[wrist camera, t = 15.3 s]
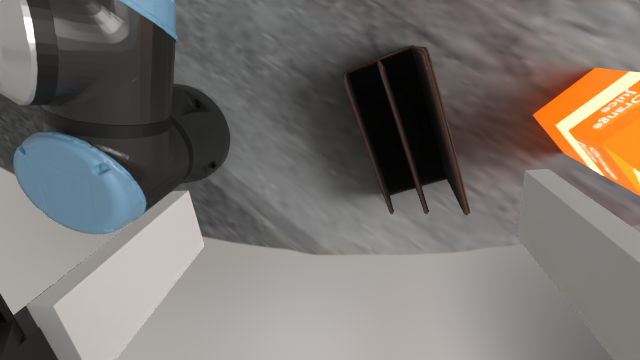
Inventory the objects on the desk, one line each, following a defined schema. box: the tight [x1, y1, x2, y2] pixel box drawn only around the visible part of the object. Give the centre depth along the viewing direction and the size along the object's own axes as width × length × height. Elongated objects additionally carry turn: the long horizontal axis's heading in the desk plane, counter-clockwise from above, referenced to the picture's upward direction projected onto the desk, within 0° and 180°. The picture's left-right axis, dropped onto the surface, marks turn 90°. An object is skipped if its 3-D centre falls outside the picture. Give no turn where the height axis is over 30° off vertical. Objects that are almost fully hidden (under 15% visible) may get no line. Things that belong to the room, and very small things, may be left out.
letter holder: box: [343, 45, 470, 215], centre depth 42 cm, size 10×20×14 cm, turn 22°
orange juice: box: [533, 68, 640, 195], centre depth 35 cm, size 8×9×20 cm
